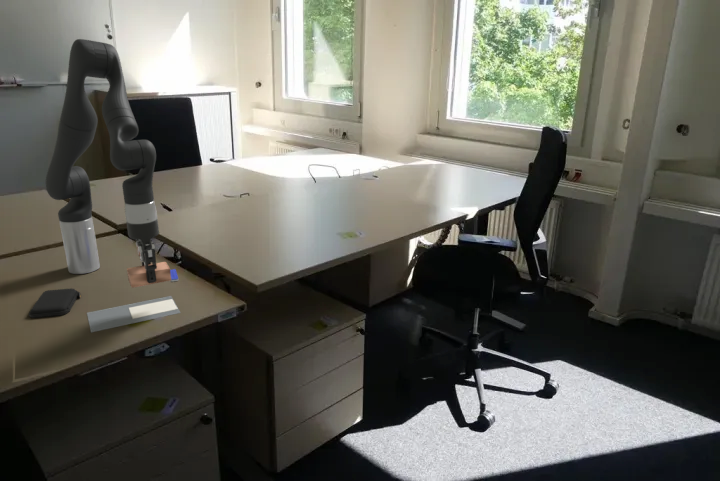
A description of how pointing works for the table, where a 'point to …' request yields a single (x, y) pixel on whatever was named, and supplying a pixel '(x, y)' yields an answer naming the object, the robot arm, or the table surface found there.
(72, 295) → the carrying case or bag
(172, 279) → the hard drive
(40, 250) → the table surface
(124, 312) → the mat
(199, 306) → the table surface
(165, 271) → the block
